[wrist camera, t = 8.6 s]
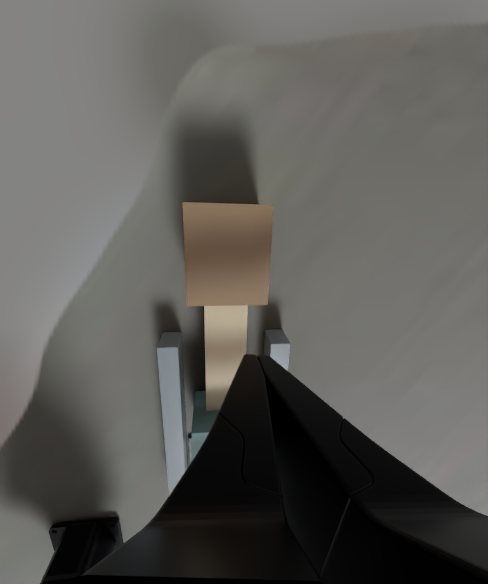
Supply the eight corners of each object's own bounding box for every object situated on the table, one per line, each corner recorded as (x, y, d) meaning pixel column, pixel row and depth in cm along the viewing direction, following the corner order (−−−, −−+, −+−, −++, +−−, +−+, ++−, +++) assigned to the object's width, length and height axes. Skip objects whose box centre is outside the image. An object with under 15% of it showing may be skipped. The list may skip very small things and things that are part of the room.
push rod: (251, 415, 25) (259, 459, 20) (196, 419, 24) (192, 465, 20) (256, 286, 21) (268, 307, 16) (191, 286, 20) (186, 308, 16)
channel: (271, 467, 28) (276, 491, 26) (173, 476, 27) (169, 502, 24) (282, 329, 23) (290, 343, 21) (162, 332, 22) (156, 347, 19)
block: (255, 282, 22) (267, 305, 17) (192, 283, 21) (186, 306, 16) (258, 204, 20) (273, 204, 15) (189, 202, 19) (182, 202, 14)
